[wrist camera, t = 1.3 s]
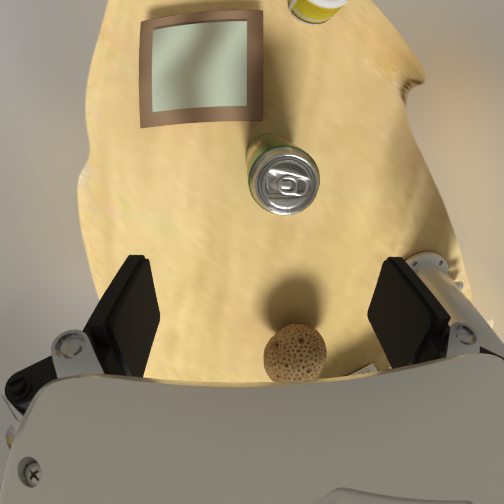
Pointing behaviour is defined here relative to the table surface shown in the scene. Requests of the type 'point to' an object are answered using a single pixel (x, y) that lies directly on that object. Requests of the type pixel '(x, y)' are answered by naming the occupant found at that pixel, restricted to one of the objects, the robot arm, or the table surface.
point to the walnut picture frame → (201, 68)
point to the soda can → (281, 175)
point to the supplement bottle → (314, 10)
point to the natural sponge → (295, 354)
